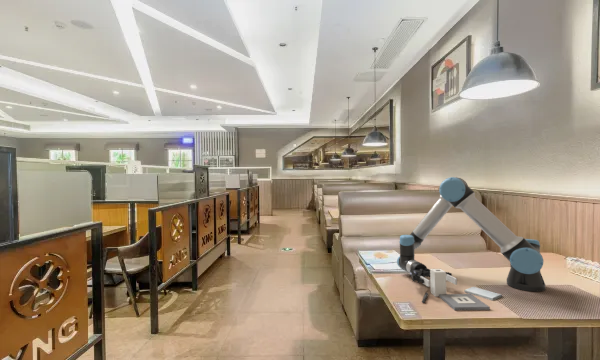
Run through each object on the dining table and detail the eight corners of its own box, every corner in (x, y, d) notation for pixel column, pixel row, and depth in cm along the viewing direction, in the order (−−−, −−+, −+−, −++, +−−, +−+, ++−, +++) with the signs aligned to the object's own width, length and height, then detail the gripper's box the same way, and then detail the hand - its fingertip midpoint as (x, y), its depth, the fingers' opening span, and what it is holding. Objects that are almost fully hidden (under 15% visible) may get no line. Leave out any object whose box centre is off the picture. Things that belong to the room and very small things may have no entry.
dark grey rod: (425, 294, 137) (425, 292, 137) (428, 295, 137) (428, 292, 137) (421, 303, 128) (421, 300, 128) (424, 303, 128) (424, 300, 128)
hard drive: (502, 294, 134) (473, 286, 144) (492, 298, 129) (464, 289, 140) (502, 297, 134) (473, 289, 144) (492, 302, 129) (464, 293, 140)
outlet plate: (470, 296, 134) (470, 293, 134) (489, 309, 120) (489, 305, 120) (439, 296, 135) (439, 293, 135) (454, 310, 121) (454, 306, 121)
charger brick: (441, 292, 140) (440, 268, 140) (446, 296, 135) (445, 271, 135) (430, 292, 140) (430, 268, 140) (435, 296, 135) (434, 271, 135)
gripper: (438, 274, 157) (467, 288, 136) (394, 277, 153) (417, 293, 132) (438, 260, 157) (467, 272, 136) (394, 263, 153) (417, 276, 132)
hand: (442, 282), depth 134 cm, fingers open, 12 cm apart
